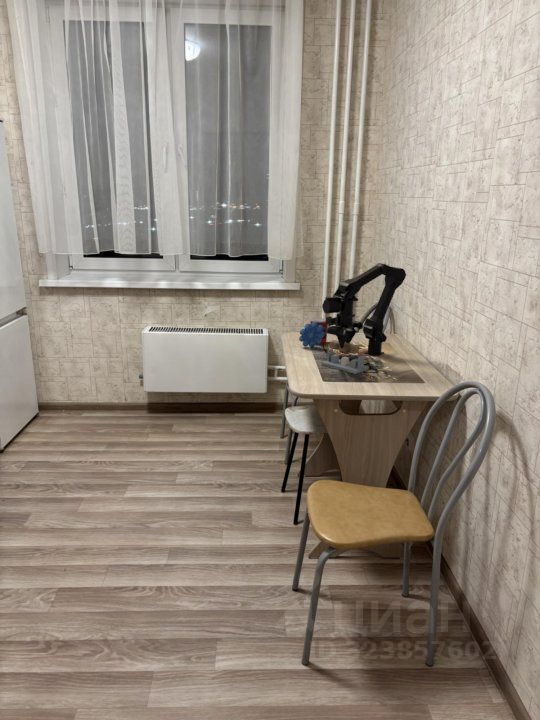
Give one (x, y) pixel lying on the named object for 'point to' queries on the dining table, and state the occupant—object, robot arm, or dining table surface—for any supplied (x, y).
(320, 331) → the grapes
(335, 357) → the display cradle
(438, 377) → the dining table surface
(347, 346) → the brown rectangular block
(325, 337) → the canned food
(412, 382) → the dining table surface
